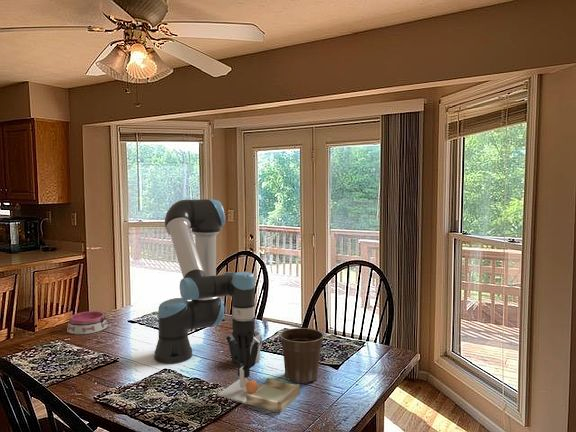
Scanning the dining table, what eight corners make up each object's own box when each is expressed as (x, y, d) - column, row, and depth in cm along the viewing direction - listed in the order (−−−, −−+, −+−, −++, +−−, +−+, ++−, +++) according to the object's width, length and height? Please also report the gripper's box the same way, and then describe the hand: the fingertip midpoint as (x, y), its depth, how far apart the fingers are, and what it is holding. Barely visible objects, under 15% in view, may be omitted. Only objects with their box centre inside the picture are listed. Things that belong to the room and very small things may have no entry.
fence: (246, 403, 145) (246, 393, 144) (267, 386, 157) (267, 377, 157) (280, 413, 139) (280, 402, 139) (299, 394, 151) (299, 384, 151)
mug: (251, 366, 175) (251, 338, 174) (234, 361, 179) (234, 334, 179) (269, 356, 185) (269, 330, 184) (252, 352, 189) (252, 327, 189)
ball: (251, 382, 149) (254, 394, 149) (258, 378, 152) (261, 389, 152) (242, 382, 151) (244, 394, 151) (249, 378, 154) (251, 390, 154)
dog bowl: (98, 335, 210) (98, 321, 209) (59, 335, 210) (58, 320, 209) (114, 323, 228) (113, 310, 228) (77, 323, 228) (77, 310, 228)
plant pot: (280, 367, 174) (280, 326, 173) (322, 368, 173) (322, 327, 172) (278, 386, 158) (278, 341, 157) (324, 387, 157) (324, 342, 156)
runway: (217, 396, 150) (217, 394, 150) (240, 380, 162) (240, 378, 162) (280, 413, 139) (280, 411, 139) (299, 394, 151) (299, 392, 151)
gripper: (221, 318, 151) (221, 386, 153) (254, 323, 145) (254, 394, 147) (233, 312, 158) (234, 378, 159) (265, 318, 152) (265, 385, 153)
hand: (243, 385), depth 153 cm, fingers closed
